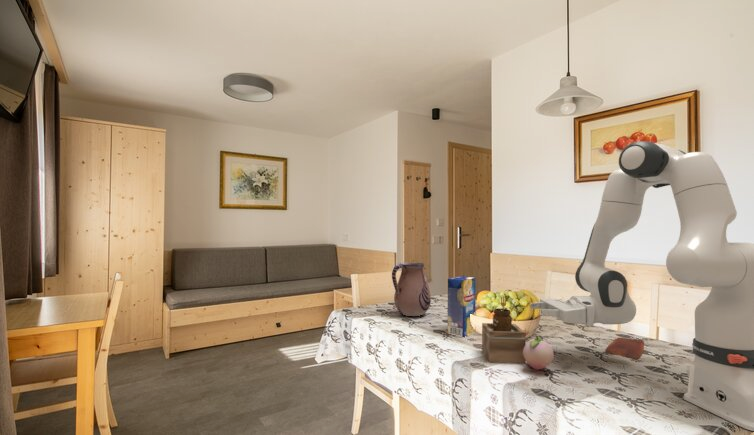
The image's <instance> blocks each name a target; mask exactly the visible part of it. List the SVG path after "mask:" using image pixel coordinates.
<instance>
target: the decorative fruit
mask: <svg viewBox="0 0 754 435" xmlns="http://www.w3.org/2000/svg"><path fill="white" fill-rule="evenodd" d="M523 355H524V358H525V360H526V363H527V365H528V366H530V367H531V368H532V369H533V370H535V371H539V370H542V369H544V368H546V367H548V366H550V365H551V364H552V362H553V361H554V357H555V356H554V349H553V348H552V346H551V344H549V343H548V342H547V341H545V340H544V339H543V338H540V337H539V336H538V335H536V337H535V338H533V339H530V340H528V341H527V342H526V345H525V347H524V349H523Z"/></svg>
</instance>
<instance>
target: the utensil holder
mask: <svg viewBox="0 0 754 435" xmlns="http://www.w3.org/2000/svg"><path fill="white" fill-rule="evenodd" d="M498 301H500V303H498V308H494V310H493V317H492V323H493V330H494V331H511V330H512V324H513V322H512V315H511V310H510V309H507V308H506V306H507V296H500V298H498Z"/></svg>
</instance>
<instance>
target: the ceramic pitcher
mask: <svg viewBox="0 0 754 435" xmlns="http://www.w3.org/2000/svg"><path fill="white" fill-rule="evenodd" d="M424 266H425V264H424V263H423V262H410V261H409V262H401V263H399V264H396V265H395V266H394V267H393V269H392V272H391V280H392V284H393V286H394V290H395V291H394V296H393V301H394V305H395V307H396V310H397V311H398V312H399V313H400V315H402V314H403V315H402V316H404V315H406V316H405V317H407V316H419V315H422V316H424V315H425V314H426V313H427V311H428V310H429V308H430V306H431V302H432V300H431V298H432V297H431V292H430V288H429V287H430V286H429V283H428V278H427V277H426V274H425V272H424ZM399 269H401V272H400V276H399V278H398V281H397V272H398V270H399ZM419 317H420V316H419Z"/></svg>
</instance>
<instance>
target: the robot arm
mask: <svg viewBox="0 0 754 435" xmlns="http://www.w3.org/2000/svg"><path fill="white" fill-rule="evenodd" d="M618 166H619V168H617V169H616V170H612V172H611V173H609V176H608V178H607V181H606V182H605V186H604V189H603V193H602V196H601V202H600V207H599V211H598V214H597V217H596V220H595V222H594V224H593V227H592V229H591V232H590V236H589V238H588V239H589V240H588V243H587V246H586V250H585V253H584V256H583V259H582V261H581V263H580V264H579V266H578V267H577V269H576V270H575V275H574V277H575V283H576V284H577V286H578V287H579V288H580V289H581V290H582V291H585V292H588V293H590V295H571V297H570V298H569V299H567V300H564V299H560V298H546V297H545V298H544V297H543V298H542V297H541V298H540V299H539V301H538V302H530V305H529V308H530V309H531V310H537V309H538V310H539V309H540V315H542V316H546V317H552V318H553V317H554V318H557V319H559V320H560V321H562V322H564V323H569V324H577V325H584V326H587V327H594V325H595V324H601V325H624V324H628V323H630V322H632V321H633V320H634V319H635V317H636V315H637V306H636V304H635V301H634V300H633V299H632V297H631V296H630V294H629V291H628V282H627V278H626V277H625V276H624V275H623V273H621V272H619V271H616V270H615V269H612V268H608V267H606V265H605V262H606V259H607V255H608V252H609V248H610V245H611V243H612V241H613V239H615V238H616V237H617V236H619V235H620V234H623V233H625V232H628V231H630V230H631V229H634V227H635V226H637V224H638V223H639V220H640V217H641V216H642V215H641V214H642V210H643V204H644V198H645V194H646V192H647V190H648V189H649V188H650V187H653V188H655V189H659V188H663V187H667V186H670V188H671V191H672V194H673V199H674V201H675V205H676V210H677V214H678V217H679V222H680V231H679V236H678V240H677V242H676V244H675V246H673V247H672V248H671V249H670V250H669V252H668V254H667V256H666V259H665V260H666V261H665V264H666V265H665V266H666V270H667V272H668V274H669V275H670V277H671V278H673V280H675V281H676V282H678V283H680V284H684V285H689V286H693V287H699V288H710V290H709V291H710V292H709V293H708V295H707V296H706V298H705V299H704V300H703V301H702V302H699V303H698V305H696V307H695V308H694V309H695V310H694V338H693V339H692V345H691V346H692V353H693V354H694V358H693V360H692V362H691V364H690V367H689V373H688V385H687V392H685V393H683V394H684V395H683V400H684V401H687V402H689V403H691V404H693V405H695V406H697V407H699V408H702V409H703V410H705V411H707V412H709V413H712V414H714V415H716V416H718V417H719V418H722V419H723V420H726V421H728V422H731V423H732V424H734V425H735V426H739V427H740V428H743V429H745V430H748V431H752V432H754V243H752V242H729V241H728V239H727V229H728V226H729V225H730V224H731V223H732V222H734V220H735V219H736V218H737V214H738V212H737V209H736V206H735V203H734V200H733V197H732V195H731V191H730V189H729V186H728V182H727V181H726V178H725V176H724V174H723V171H722V170H721V168H720V165H719V164H718V163H717V162H716V159H714V157H713V156H712V155H711V154H710V153H708V152H705V151H693V152H692V151H691V152H685V151H683V150H681V149H676V148H673V147H672V146H670V145H667V144H661V143H657V142H653V141H649V140H648V141H647V140H640V141H639V140H638V141H635V142H631V143H629V144H628V145H626V146H625V147H624V148H623V150H622V151H621V152H620V154H619V157H618Z"/></svg>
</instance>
